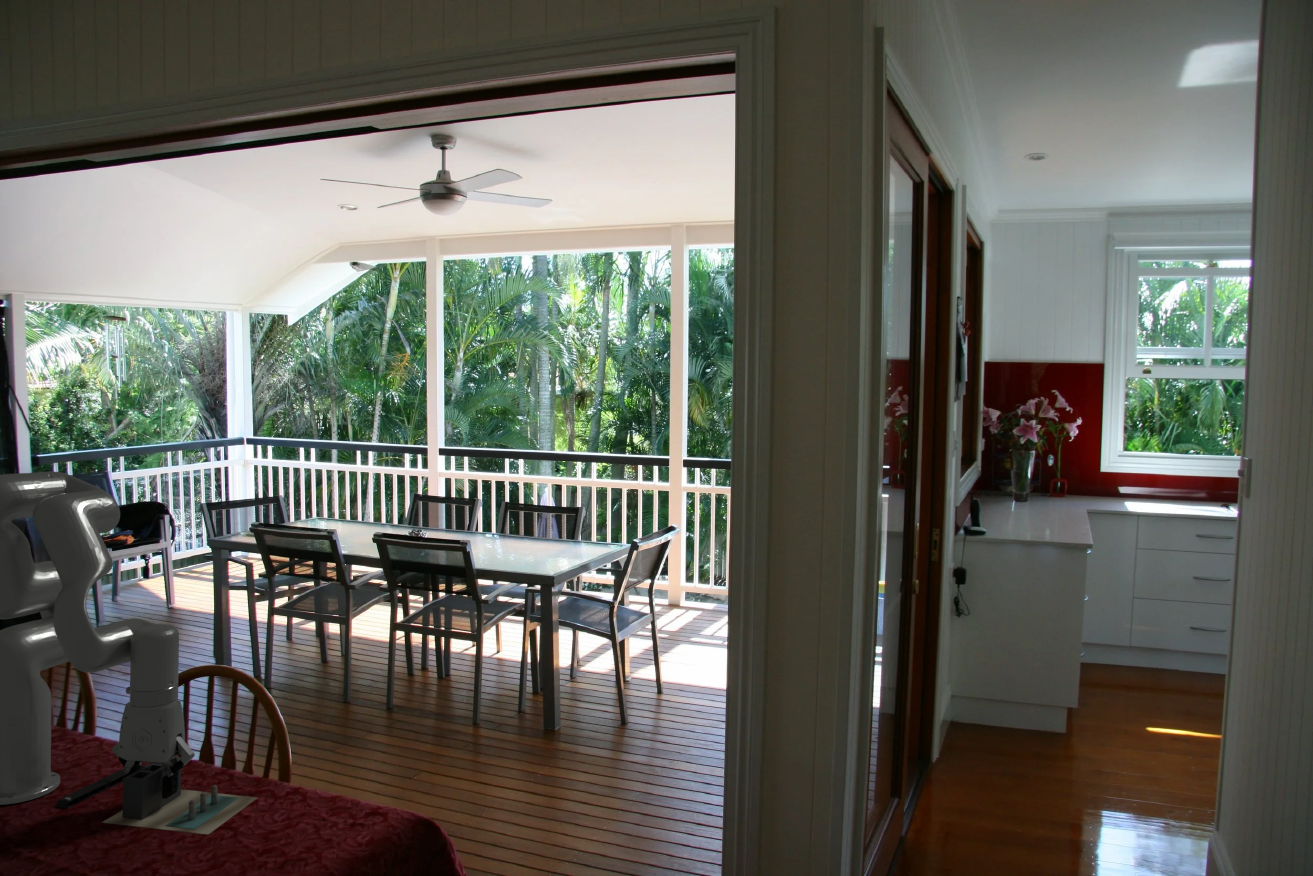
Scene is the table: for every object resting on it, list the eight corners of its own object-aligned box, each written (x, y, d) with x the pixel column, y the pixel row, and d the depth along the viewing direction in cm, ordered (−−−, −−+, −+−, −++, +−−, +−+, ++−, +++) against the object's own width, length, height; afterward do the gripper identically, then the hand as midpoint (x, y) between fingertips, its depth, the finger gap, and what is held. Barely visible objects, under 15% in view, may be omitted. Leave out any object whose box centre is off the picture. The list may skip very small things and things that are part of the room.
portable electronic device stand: (137, 776, 170) (138, 761, 170) (148, 778, 169) (148, 763, 169) (54, 817, 153) (54, 800, 153) (66, 819, 152) (66, 802, 152)
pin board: (102, 830, 148) (102, 802, 148) (159, 795, 162) (160, 769, 162) (208, 843, 145) (208, 814, 145) (257, 805, 159) (257, 779, 159)
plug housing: (142, 820, 149) (142, 780, 149) (122, 817, 150) (123, 778, 149) (180, 795, 159) (181, 758, 159) (162, 793, 159) (162, 756, 159)
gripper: (94, 698, 151) (93, 798, 152) (183, 706, 149) (182, 808, 149) (126, 684, 158) (125, 780, 159) (211, 692, 156) (210, 789, 157)
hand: (152, 792), depth 154 cm, fingers open, 6 cm apart
